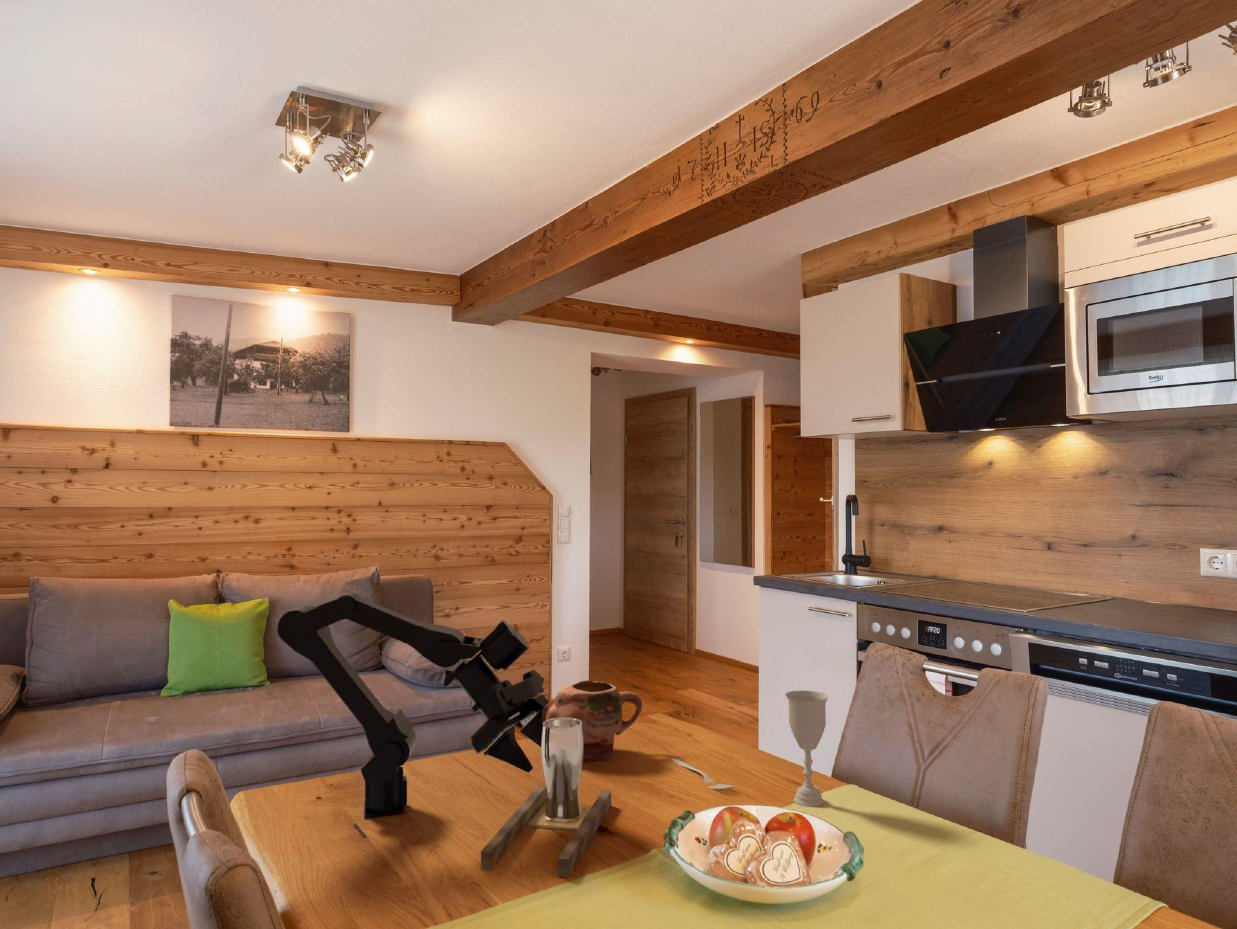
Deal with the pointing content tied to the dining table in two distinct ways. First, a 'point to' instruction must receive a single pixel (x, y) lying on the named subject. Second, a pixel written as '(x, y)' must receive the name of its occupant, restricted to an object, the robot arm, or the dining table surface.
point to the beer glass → (562, 767)
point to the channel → (525, 814)
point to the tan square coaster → (543, 822)
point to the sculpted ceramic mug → (595, 714)
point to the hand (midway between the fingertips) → (543, 761)
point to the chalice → (807, 736)
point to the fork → (706, 778)
